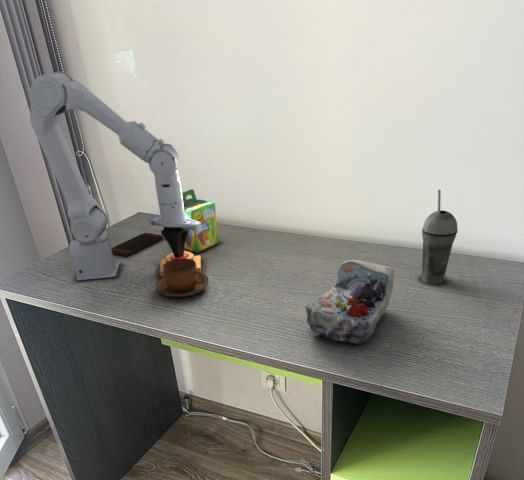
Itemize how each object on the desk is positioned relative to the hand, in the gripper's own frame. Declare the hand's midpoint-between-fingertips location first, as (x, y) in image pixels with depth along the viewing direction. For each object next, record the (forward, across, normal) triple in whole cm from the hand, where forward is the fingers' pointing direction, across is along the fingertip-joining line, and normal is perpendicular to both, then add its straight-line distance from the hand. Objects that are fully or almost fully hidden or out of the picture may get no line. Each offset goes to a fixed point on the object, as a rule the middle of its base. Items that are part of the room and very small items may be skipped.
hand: (179, 256), depth 123 cm
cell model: (+3, -48, +10) cm, 49 cm away
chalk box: (+3, +5, -15) cm, 16 cm away
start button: (+2, 0, 0) cm, 2 cm away
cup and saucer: (+3, -8, +10) cm, 13 cm away
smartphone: (+3, +22, -8) cm, 23 cm away
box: (+3, 0, 0) cm, 3 cm away
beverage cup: (+3, -58, -16) cm, 60 cm away
